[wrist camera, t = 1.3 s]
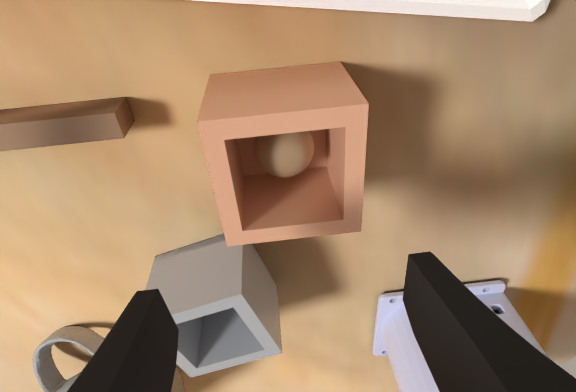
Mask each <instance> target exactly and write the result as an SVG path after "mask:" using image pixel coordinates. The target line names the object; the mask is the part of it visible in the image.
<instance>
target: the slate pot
mask: <svg viewBox="0 0 576 392" xmlns="http://www.w3.org/2000/svg"><path fill="white" fill-rule="evenodd" d="M151 289H159V291H160V293H161V295H162V297H163V299H164V301H165V303H166V305H167V307H168V309H169V311H170V313H171V315H172V317H173V319H174V321H175V323H176V325H177V327H178V329H179V335H178V350H177V361H176V364H177V365H178V366H179V367H180V368H181V369H182V370H183V371H184V372H185V373H186V374H187V375H189V376H190V377H191V378H192V377H196V376H199V375H203V374H207V373H210V372H214V371H218V370H222V369H225V368H229V367H233V366H236V365H240V364H244V363H247V362H251V361H255V360H258V359H262V358H266V357H269V356H273V355H277V354H280V353H282V344H281V330H280V317H279V304H278V290H277V285H276V284H275V282H274V280H273V278H272V277H271V275H270V273H269V271H268V270H267V268H266V266H265V265H264V263H263V261H262V259H261V258H260V256H259V254H258V253H257V251H256V249H255V247H254V246H253V244H245V245H236V246H227V244H226V240H225V235H224V234H222V235H219V236H216V237H213V238H210V239H207V240H204V241H201V242H198V243H194V244H191V245H188V246H185V247H182V248H179V249H176V250H173V251H170V252H167V253H164V254H161V255H158V256H155V259H154V263H153V266H152V269H151V273H150V276H149V280H148V283H147V286H146V290H151Z"/></svg>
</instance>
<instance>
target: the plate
mask: <svg viewBox="0 0 576 392" xmlns="http://www.w3.org/2000/svg"><path fill="white" fill-rule="evenodd" d="M194 1H210V2H226V3H242V4H258V5H274V6H290V7H306V8H322V9H338V10H355V11H371V12H387V13H403V14H419V15H435V16H451V17H467V18H483V19H499V20H516V21H534V20H535V19H537V18H538V17H539V16H541V15H542V14H543V13H545V12H546V9H547V7H548V5H549V3H550V0H194Z"/></svg>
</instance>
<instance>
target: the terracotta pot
mask: <svg viewBox="0 0 576 392" xmlns="http://www.w3.org/2000/svg"><path fill="white" fill-rule="evenodd" d="M368 109H369V103H368V102H367V100H366V99H365V97H364V96H363V94H362V93H361V91H360V90H359V88H358V87H357V85H356V84H355V83H354V81H353V80H352V78H351V77H350V75H349V74H348V72H347V71H346V69H345V68H344V66H343V65H342V64H341V62H332V63H322V64H312V65H303V66H293V67H283V68H273V69H264V70H254V71H244V72H235V73H225V74H215V75H210V76H209V80H208V83H207V87H206V90H205V94H204V97H203V101H202V104H201V108H200V111H199V115H198V119H197V125H198V130H199V134H200V138H201V142H202V146H203V150H204V154H205V158H206V162H207V166H208V170H209V174H210V178H211V183H212V187H213V191H214V195H215V199H216V203H217V207H218V211H219V215H220V219H221V223H222V227H223V231H224V235H225V240H226V244H227V246H236V245H245V244H254V243H262V242H271V241H280V240H289V239H298V238H306V237H315V236H324V235H333V234H342V233H350V232H359V231H361V224H362V207H363V191H364V175H365V158H366V142H367V125H368ZM303 131H310V133H311V135H312V137H313V142H314V152H313V157H312V159H311V161H310V163H309V165H308V166H307V167H306V168H305V169H304V170H303V171H302V172H300V173H299V174H297V175H295V176H292V177H285V178H282V177H276V176H273V175H270V174H269V173H267V172H266V171H264V170H263V169H262V168H261V167H260V165H259V164H258V162H257V160H256V158H255V155H254V149H253V145H254V139H255V137H257V136H266V135H275V134H285V133H294V132H303Z"/></svg>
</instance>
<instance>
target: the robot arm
mask: <svg viewBox="0 0 576 392" xmlns="http://www.w3.org/2000/svg"><path fill="white" fill-rule="evenodd" d="M505 288H506V285H505V283H504V282H503V281H502V280H496V281H487V282H478V283H470V284H463V283H462V282H461V281H460V280H459V279H458V278H457V277H456V276H455V275H454V274H453V273H452V272H451V271H450V270H449V269H448V268H447V267H446V266H445V265H444V264H443V263H442V262H441V261H440V260H439V259H438V258H437V257H436V256H435V255H434V254H432V253H431V252H423V253H415V254H409V256H408V263H407V270H406V278H405V285H404V291H402V292H393V293H385V294H382V295H380V296H379V298H378V305H377V314H376V322H375V331H374V339H373V348H372V351H373V354H374V355H375V356H381V355H388V356H389V359H390V362H391V366H392V369H393V372H394V375H395V378H396V381H397V384H398V387H399V390H400V392H576V379H575V378H574V377H573V376H572V375H570V374H569V373H568V372H566V371H565V370H564V369H562V368H561V367H560V366H558V365H557V364H555V363H554V362H553V361H552V360H550V359H549V357H548V356H547V354H546V353H545V351H544V350H543V349H542V347H541V346H540V344H539V343H538V341H537V340H536V339H535V337H534V336H533V334H532V333H531V331H530V330H529V329H528V327H527V326H526V324H525V323H524V321H523V320H522V318H521V317H520V316H519V314H518V313H517V311H516V310H515V308H514V307H513V306H512V304H511V303H510V301H509V300H508V298H507V297H506V296H505V294H504V293H503V292H504V290H505ZM178 335H179V329H178V327H177V325H176V323H175V321H174V319H173V317H172V315H171V313H170V311H169V309H168V307H167V305H166V303H165V301H164V299H163V297H162V295H161V293H160V291H159V289H151V290H144V291H137V292H136V293H135V295H134V296H133V297H132V299H131V300H130V302H129V303H128V305H127V306H126V308H125V309H124V311H123V312H122V314H121V315H120V317H119V318H118V320H117V321H116V323H115V324H114V326H113V327H112V329H111V330H110V332H109V333H108V335H107V336H106V338H105V339H104V341H103V342H102V344H101V345H100V346H99V348H98V349H97V351H96V352H95V354H94V355H93V356H92V358H91V359H90V361H89V362H88V364H87V365H86V366H85V368H84V369H83V371H82V372H81V373H80V375H79V376H78V377H77V379H76V380H75V381H74V383H73V384H72V385H71V387H70V388H69V389H68V391H67V392H171V390H172V385H173V379H174V374H175V369H176V361H177V350H178Z"/></svg>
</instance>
